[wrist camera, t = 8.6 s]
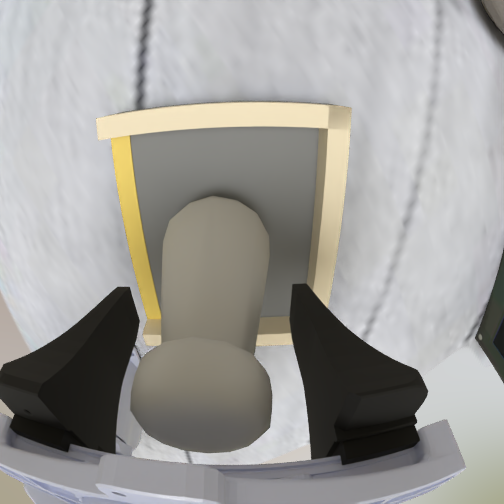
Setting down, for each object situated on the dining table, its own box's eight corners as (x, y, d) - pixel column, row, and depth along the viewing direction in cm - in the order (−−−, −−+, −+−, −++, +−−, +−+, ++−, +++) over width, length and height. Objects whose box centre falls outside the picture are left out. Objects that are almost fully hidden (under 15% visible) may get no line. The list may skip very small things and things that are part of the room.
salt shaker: (154, 212, 17) (58, 399, 6) (237, 166, 16) (236, 350, 5) (204, 282, 20) (182, 473, 9) (281, 246, 19) (327, 446, 8)
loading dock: (311, 309, 24) (320, 342, 21) (156, 312, 24) (146, 345, 21) (330, 104, 16) (351, 107, 13) (121, 112, 16) (95, 118, 13)
